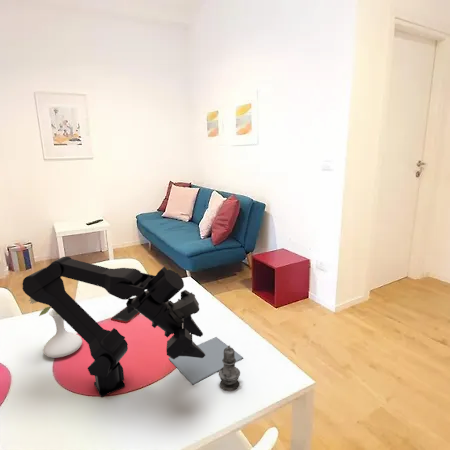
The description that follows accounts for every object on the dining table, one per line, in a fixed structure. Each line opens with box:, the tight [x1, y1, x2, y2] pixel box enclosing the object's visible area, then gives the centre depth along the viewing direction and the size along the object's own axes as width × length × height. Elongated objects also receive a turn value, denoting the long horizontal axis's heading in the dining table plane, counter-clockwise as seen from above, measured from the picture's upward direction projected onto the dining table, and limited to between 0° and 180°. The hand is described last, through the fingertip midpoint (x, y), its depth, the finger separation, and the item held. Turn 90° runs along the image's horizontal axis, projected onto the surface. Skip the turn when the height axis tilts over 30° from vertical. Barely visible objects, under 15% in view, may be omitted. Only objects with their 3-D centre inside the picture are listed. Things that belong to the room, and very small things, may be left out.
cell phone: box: [110, 306, 141, 324], centre depth 129 cm, size 8×15×1 cm, turn 159°
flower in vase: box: [28, 297, 83, 359], centre depth 102 cm, size 13×11×25 cm
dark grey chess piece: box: [218, 345, 241, 392], centre depth 88 cm, size 6×6×12 cm
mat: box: [167, 336, 244, 385], centre depth 100 cm, size 18×14×1 cm
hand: (203, 345), depth 86 cm, fingers open, 9 cm apart
